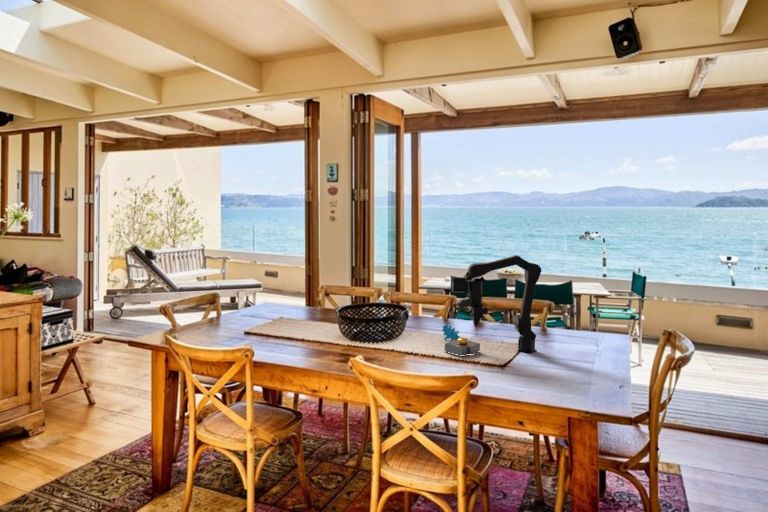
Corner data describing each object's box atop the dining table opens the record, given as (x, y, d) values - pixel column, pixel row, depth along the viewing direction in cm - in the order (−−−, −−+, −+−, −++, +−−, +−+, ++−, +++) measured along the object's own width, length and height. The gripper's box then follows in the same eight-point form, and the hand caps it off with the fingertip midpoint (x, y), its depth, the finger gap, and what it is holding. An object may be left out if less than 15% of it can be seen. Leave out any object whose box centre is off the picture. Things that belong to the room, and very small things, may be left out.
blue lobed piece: (450, 341, 230) (440, 323, 235) (442, 348, 233) (433, 330, 238) (465, 340, 237) (455, 323, 242) (457, 347, 240) (447, 330, 245)
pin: (469, 351, 217) (469, 339, 217) (462, 353, 214) (462, 340, 214) (461, 349, 220) (461, 337, 220) (455, 351, 218) (455, 338, 217)
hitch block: (481, 352, 217) (481, 343, 216) (463, 357, 209) (463, 348, 209) (460, 347, 226) (461, 338, 226) (442, 351, 218) (443, 342, 218)
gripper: (453, 289, 227) (453, 322, 228) (462, 296, 209) (462, 332, 210) (476, 288, 228) (477, 321, 229) (488, 295, 209) (488, 331, 211)
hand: (475, 326), depth 220 cm, fingers closed
